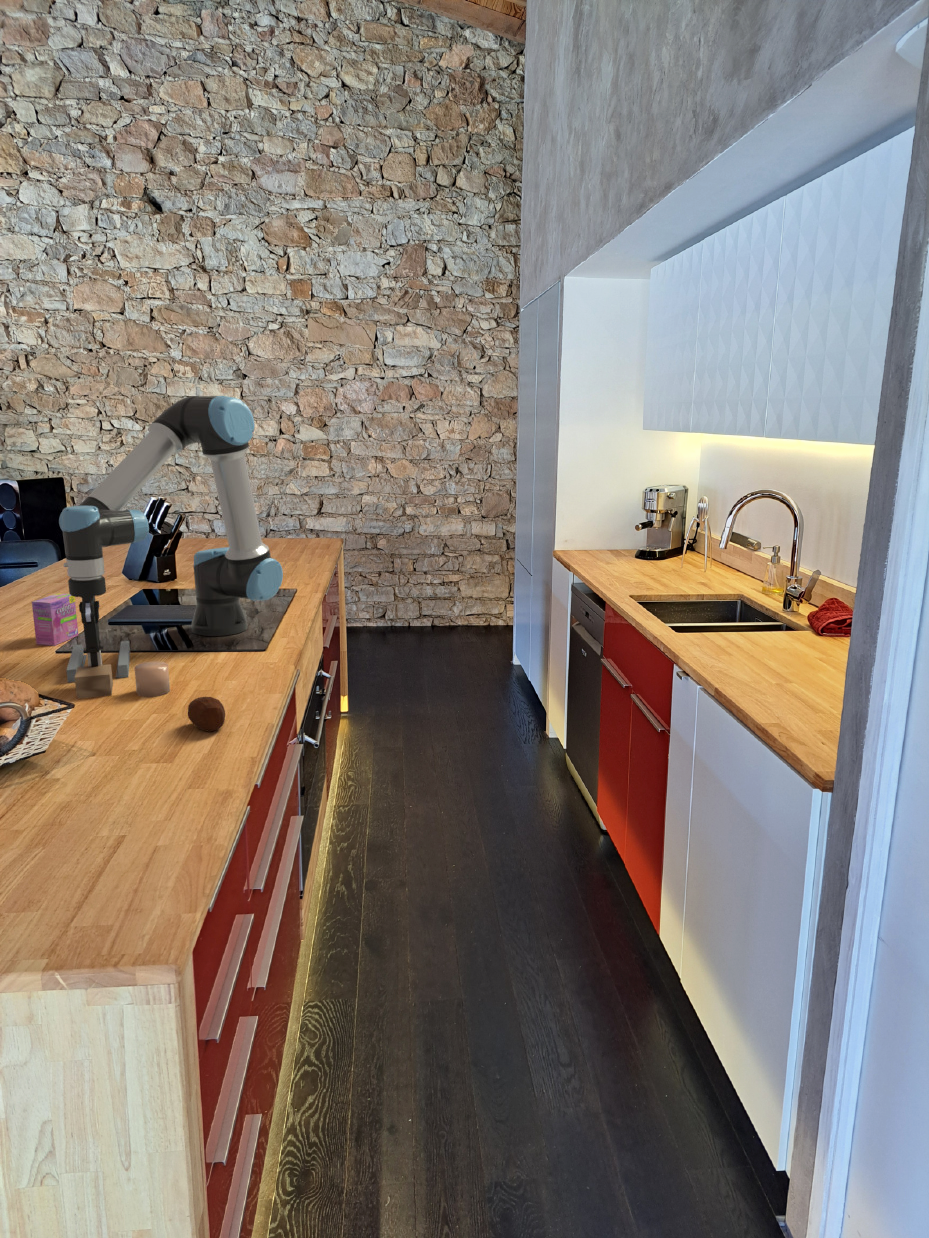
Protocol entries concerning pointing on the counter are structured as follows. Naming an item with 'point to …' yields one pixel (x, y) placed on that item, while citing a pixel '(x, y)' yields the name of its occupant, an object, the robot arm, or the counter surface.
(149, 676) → the marshmallow
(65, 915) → the counter surface
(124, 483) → the robot arm
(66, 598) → the box
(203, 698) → the potato
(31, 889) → the counter surface
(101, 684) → the block
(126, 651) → the chute
